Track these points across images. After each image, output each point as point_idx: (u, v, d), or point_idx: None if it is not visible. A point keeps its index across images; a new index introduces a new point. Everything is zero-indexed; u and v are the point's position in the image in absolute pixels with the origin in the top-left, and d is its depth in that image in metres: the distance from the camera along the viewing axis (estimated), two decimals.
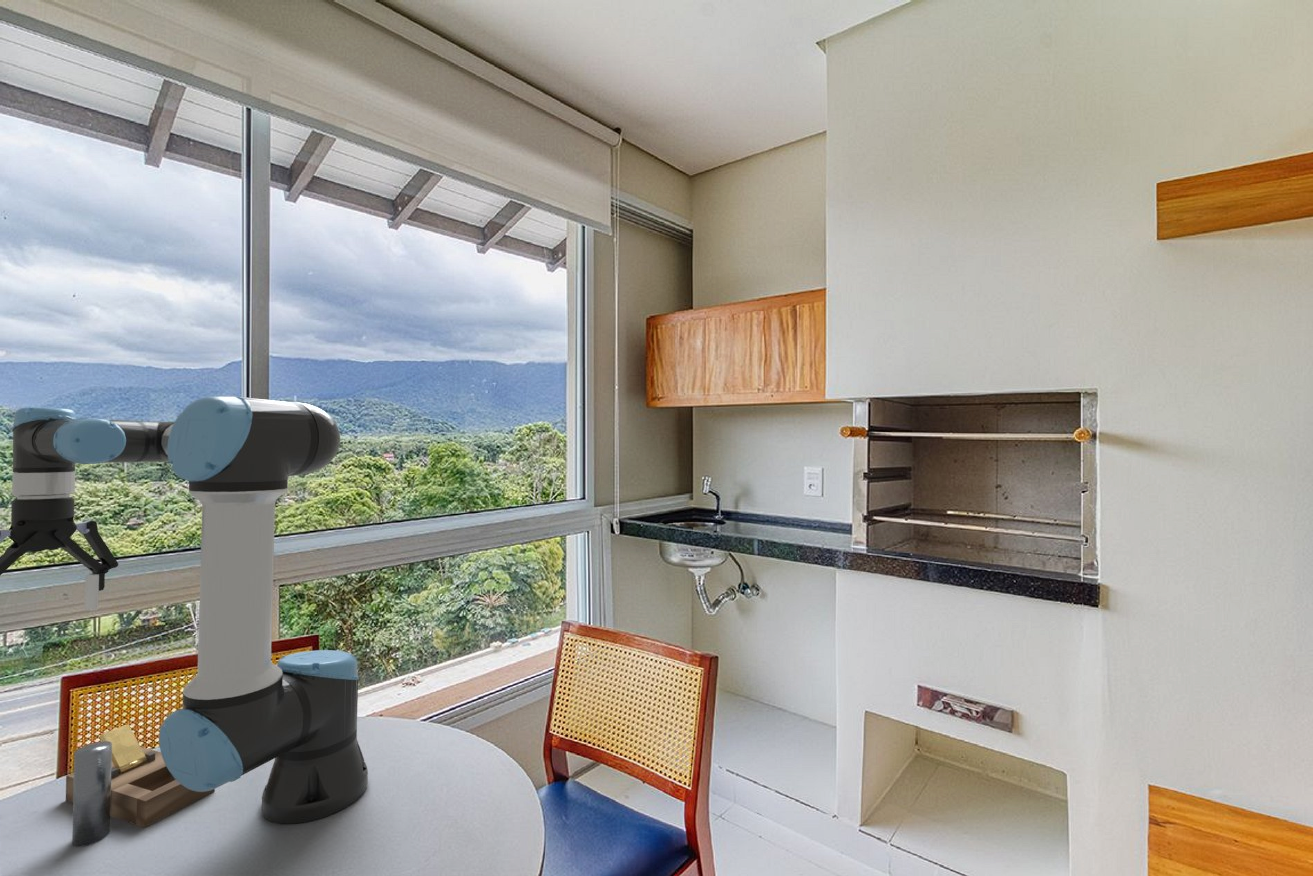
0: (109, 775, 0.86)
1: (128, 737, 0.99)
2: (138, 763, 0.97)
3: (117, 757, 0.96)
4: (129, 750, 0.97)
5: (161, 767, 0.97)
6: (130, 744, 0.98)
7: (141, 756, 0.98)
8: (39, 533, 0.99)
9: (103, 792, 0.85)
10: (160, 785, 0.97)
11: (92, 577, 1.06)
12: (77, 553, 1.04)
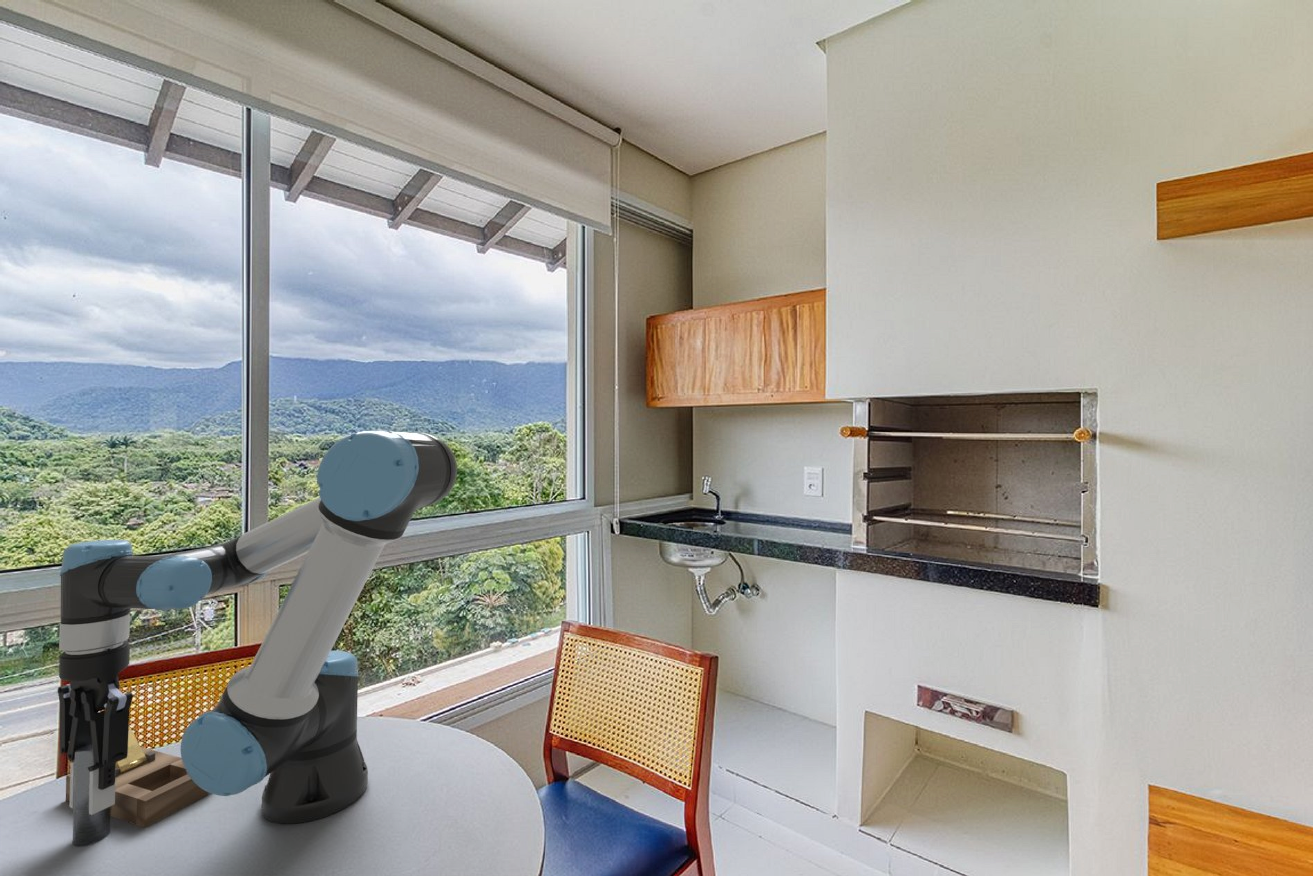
0: None
1: (128, 737, 0.99)
2: (138, 763, 0.97)
3: None
4: (129, 750, 0.97)
5: (161, 767, 0.97)
6: (130, 744, 0.98)
7: (141, 756, 0.98)
8: (71, 691, 0.85)
9: None
10: (160, 785, 0.97)
11: None
12: (91, 728, 0.84)
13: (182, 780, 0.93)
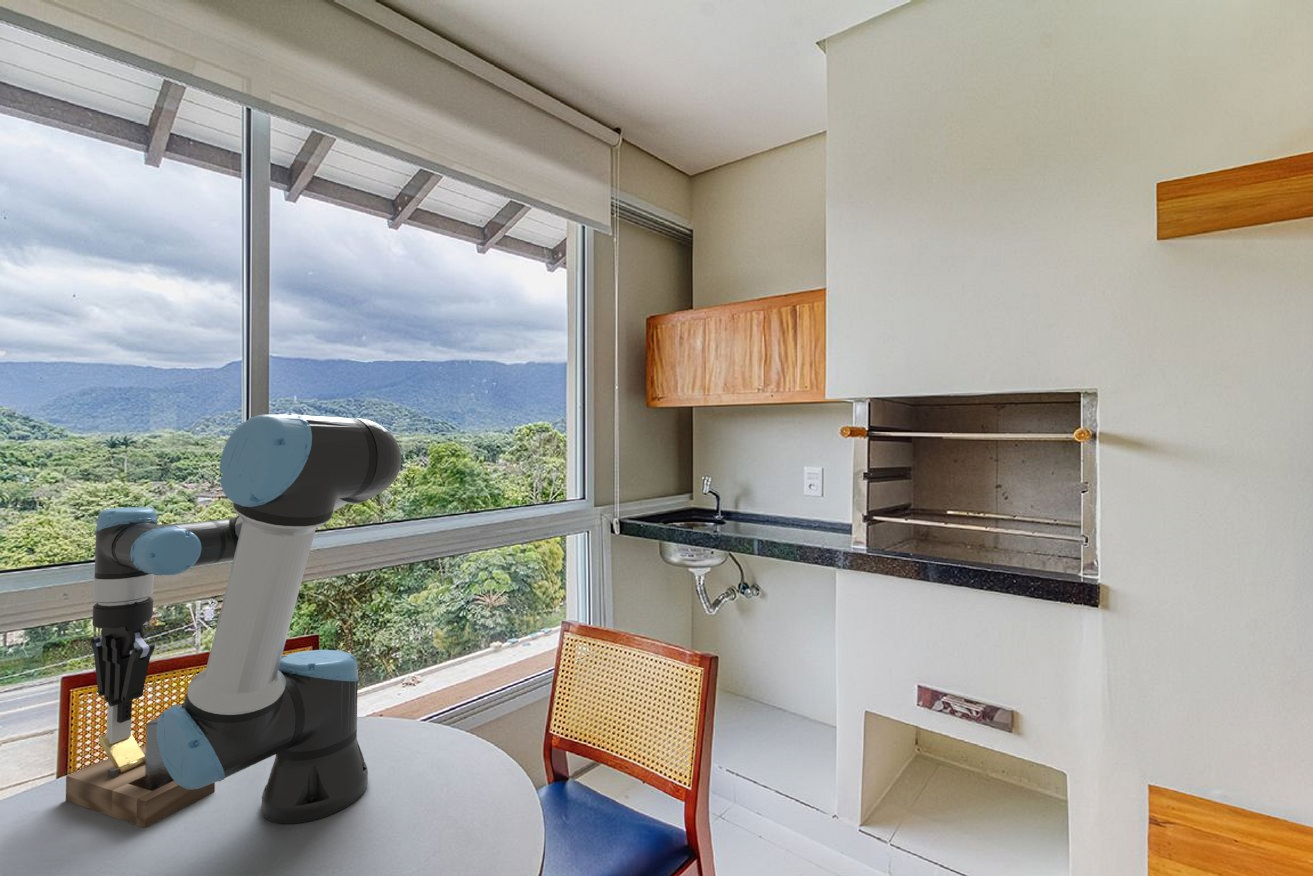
0: None
1: (127, 738, 0.99)
2: (138, 763, 0.97)
3: (116, 758, 0.96)
4: (128, 751, 0.97)
5: None
6: (129, 745, 0.98)
7: (141, 756, 0.98)
8: (102, 638, 0.97)
9: None
10: None
11: None
12: (116, 669, 0.97)
13: None
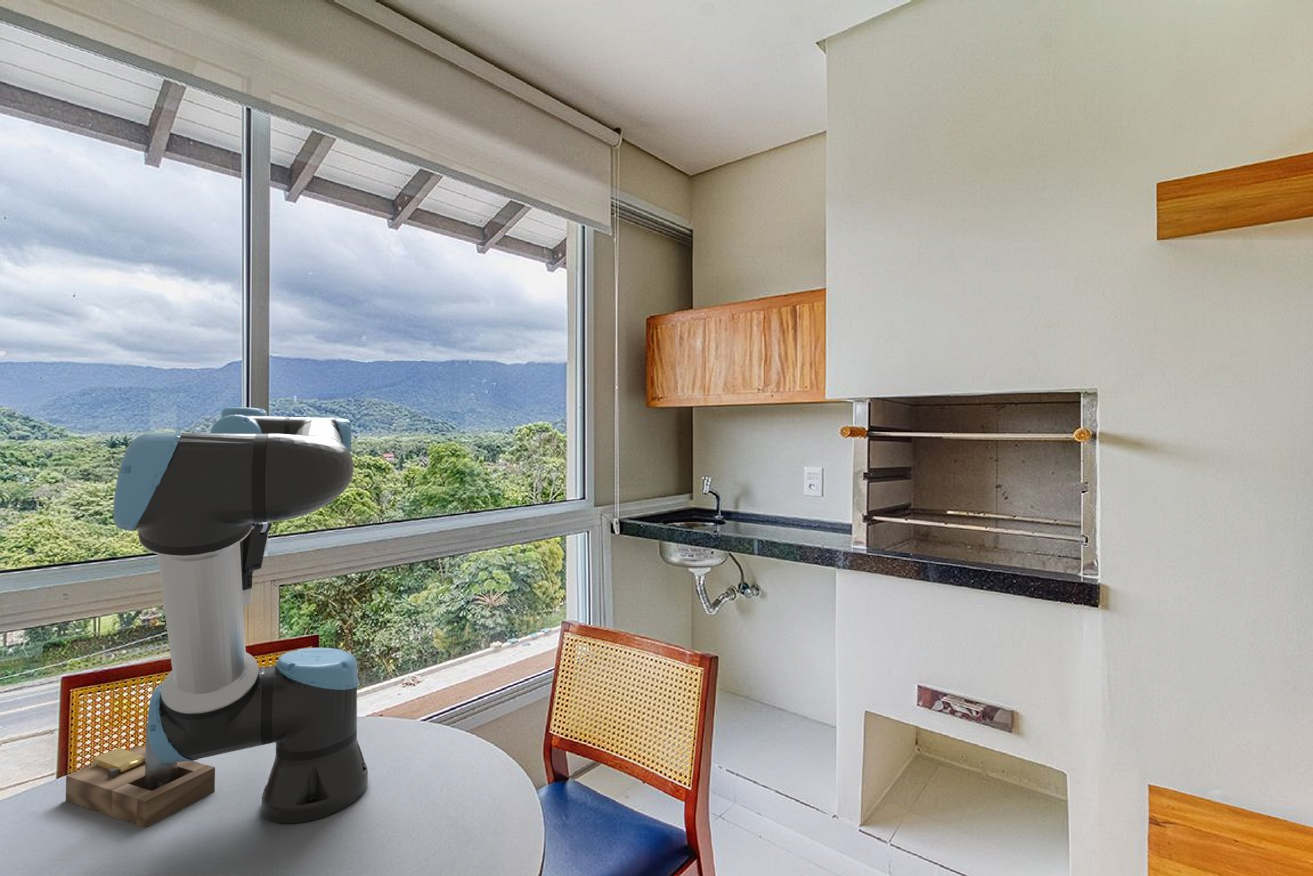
0: None
1: (122, 752, 0.99)
2: (138, 761, 0.97)
3: (113, 763, 0.96)
4: (125, 757, 0.98)
5: None
6: (124, 755, 0.98)
7: (139, 757, 0.98)
8: None
9: None
10: None
11: None
12: (239, 544, 1.13)
13: (182, 780, 0.93)
